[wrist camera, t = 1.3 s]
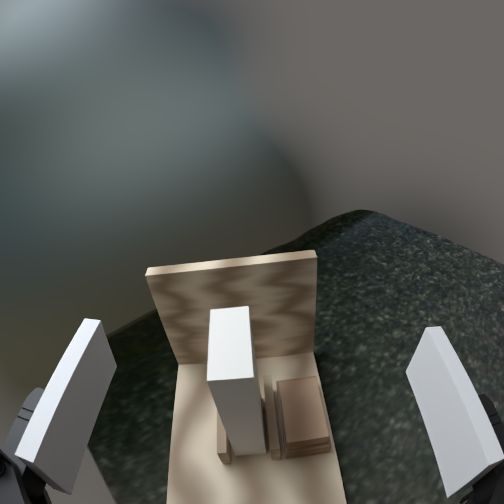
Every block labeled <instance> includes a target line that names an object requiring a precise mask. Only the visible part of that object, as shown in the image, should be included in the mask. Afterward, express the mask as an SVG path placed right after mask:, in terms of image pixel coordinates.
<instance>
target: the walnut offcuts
mask: <svg viewBox="0 0 504 504" xmlns="http://www.w3.org/2000/svg"><path fill="white" fill-rule="evenodd" d="M276 385H277V395H278V403H279V411H280V419H281V427H282V435H283V443H284V451H285V459H288V458H296V457H303V456H310V455H316V454H322V453H327V452H330V449H331V446H332V445H331V441H330V436H329V431H328V426H327V422H326V417H325V413H324V408H323V404H322V399H321V395H320V390H319V386H318V382H317V377H316V376H310V377H303V378H296V379H289V380H281V381H276Z"/></svg>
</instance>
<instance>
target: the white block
mask: <svg viewBox="0 0 504 504" xmlns="http://www.w3.org/2000/svg"><path fill="white" fill-rule="evenodd" d="M207 383H208V386H209V388H210V391H211V394H212V397H213V399H214V402H215V405H216V407H217V410H218V413H219V415H220V418H221V421H222V423H223V426H224V428H225V431H226V433H227V436H228V438H229V441H230V443H231V446H232V448H233V451H234V453H235V456H239V455H253V454H265V453H266V443H265V432H264V421H263V410H262V399H261V391H260V385H259V378H258V371H257V364H256V357H255V349H254V342H253V335H252V328H251V321H250V314H249V306H243V307H233V308H223V309H212V310H210V326H209V344H208V364H207Z"/></svg>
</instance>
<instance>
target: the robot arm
mask: <svg viewBox="0 0 504 504" xmlns="http://www.w3.org/2000/svg"><path fill="white" fill-rule="evenodd" d="M116 367H117V365H116V363H115V360H114V357H113V355H112V352H111V349H110V346H109V344H108V341H107V338H106V335H105V332H104V329H103V326H102V323H101V321H100V320H93V319H84V321H83V322H82V324H81V326H80V328H79V329H78V331H77V332H76V334H75V336H74V338H73V340H72V341H71V343H70V345H69V346H68V348H67V350H66V352H65V353H64V355H63V357H62V359H61V361H60V363H59V364H58V366H57V368H56V370H55V372H54V374H53V375H52V377H51V379H50V381H49V383H48V385H47V387H46V389H45V390H44V389H41V388H36V389H35V390H33V391H32V393H30V394H29V395H28V396H27V398H26V400H25V402H24V404H23V406H22V409H21V410H20V412H19V414H18V418H16V420H15V422H14V424H13V426H12V428H11V430H10V433H9V434H8V437H7V439H6V441H5V443H4V446H3V447H2V449H0V504H52V503H51V500H50V498H49V496H48V493H47V491H46V490H45V485H46V483H47V484H48V485H49V486H51V487H52V488H53V489H56V490H58V491H61V492H63V493H66V494H69V495H71V493H72V490H73V487H74V484H75V480H76V477H77V474H78V471H79V468H80V465H81V462H82V459H83V456H84V453H85V449H86V447H87V444H88V441H89V438H90V435H91V433H92V430H93V427H94V424H95V421H96V419H97V416H98V413H99V411H100V408H101V405H102V403H103V400H104V397H105V395H106V392H107V390H108V387H109V385H110V382H111V379H112V377H113V374H114V372H115V370H116ZM406 374H407V377H408V379H409V382H410V384H411V387H412V390H413V392H414V395H415V398H416V400H417V403H418V406H419V409H420V411H421V414H422V417H423V420H424V423H425V426H426V429H427V432H428V435H429V438H430V441H431V444H432V447H433V450H434V453H435V456H436V459H437V463H438V466H439V469H440V473H441V476H442V480H443V483H444V487H445V490H446V494H447V498H448V497H451V496H454V495H457V494H460V493H462V492H464V491H466V490H467V489H468V488H470V487H471V486H472V487H473V491H472V492H470V493H469V494H468V495H466V496H465V497H463V498H462V499H461V501H460V502H459V503H463V502H464V501H466V500H467V499H468V501H467V502H466V503H465V504H504V426H503V423H501V422H502V421H501V419H500V417H499V415H497V414H498V413H497V411H496V408H495V406H494V404H493V402H492V401H491V400H490V399H489V398H488V397H487V396H486V395H485V394H482V395H477V393H476V391H475V389H474V387H473V385H472V383H471V381H470V379H469V377H468V375H467V373H466V371H465V369H464V367H463V366H462V364H461V362H460V360H459V358H458V356H457V354H456V353H455V351H454V349H453V347H452V345H451V344H450V342H449V340H448V338H447V337H446V335H445V333H444V331H443V330H442V328H441V326H439V327H426V329H425V331H424V333H423V336H422V338H421V340H420V342H419V345H418V347H417V349H416V351H415V353H414V356H413V358H412V360H411V362H410V364H409V366H408V368H407V370H406Z"/></svg>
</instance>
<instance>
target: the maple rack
mask: <svg viewBox="0 0 504 504" xmlns="http://www.w3.org/2000/svg"><path fill="white" fill-rule="evenodd" d="M145 276H146V279H147V281H148V285H149V288H150V290H151V293H152V296H153V299H154V302H155V304H156V307H157V310H158V313H159V315H160V318H161V321H162V323H163V326H164V329H165V331H166V334H167V336H168V339H169V341H170V344H171V347H172V349H173V351H174V354H175V356H176V359H177V361H178V364H179V369H178V378H177V386H176V396H175V405H174V415H173V425H172V436H171V448H170V461H169V475H168V490H167V504H347V503H346V498H345V493H344V488H343V483H342V478H341V473H340V469H339V464H338V459H337V454H336V450H335V445H334V440H333V436H332V431H331V427H330V422H329V418H328V413H327V409H326V404H325V400H324V396H323V391H322V387H321V383H320V379H319V374H318V370H317V366H316V362H315V358H314V354H313V346H314V328H315V307H316V279H317V256H316V253H315V251H314V250H308V251H299V252H290V253H281V254H272V255H263V256H254V257H245V258H237V259H227V260H217V261H208V262H199V263H189V264H180V265H171V266H161V267H152V268H148V270H147V272H146V275H145ZM243 306H249V314H250V321H251V328H252V335H253V342H254V349H255V357H256V364H257V371H258V378H259V385H260V391H261V399H262V410H263V421H264V432H265V443H266V453H265V454H253V455H239V456H235V453H234V451H233V448H232V446H231V443H230V441H229V438H228V436H227V433H226V431H225V428H224V426H223V423H222V421H221V418H220V415H219V413H218V410H217V407H216V405H215V402H214V399H213V397H212V394H211V391H210V388H209V386H208V383H207V364H208V344H209V326H210V310H212V309H223V308H233V307H243ZM310 376H316V377H317V382H318V386H319V390H320V395H321V399H322V404H323V408H324V413H325V417H326V422H327V426H328V431H329V436H330V441H331V445H332V446H331V449H330V452H327V453H322V454H316V455H310V456H303V457H296V458H288V459H285V451H284V443H283V435H282V427H281V419H280V411H279V403H278V395H277V385H276V381H281V380H289V379H296V378H303V377H310Z"/></svg>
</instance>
